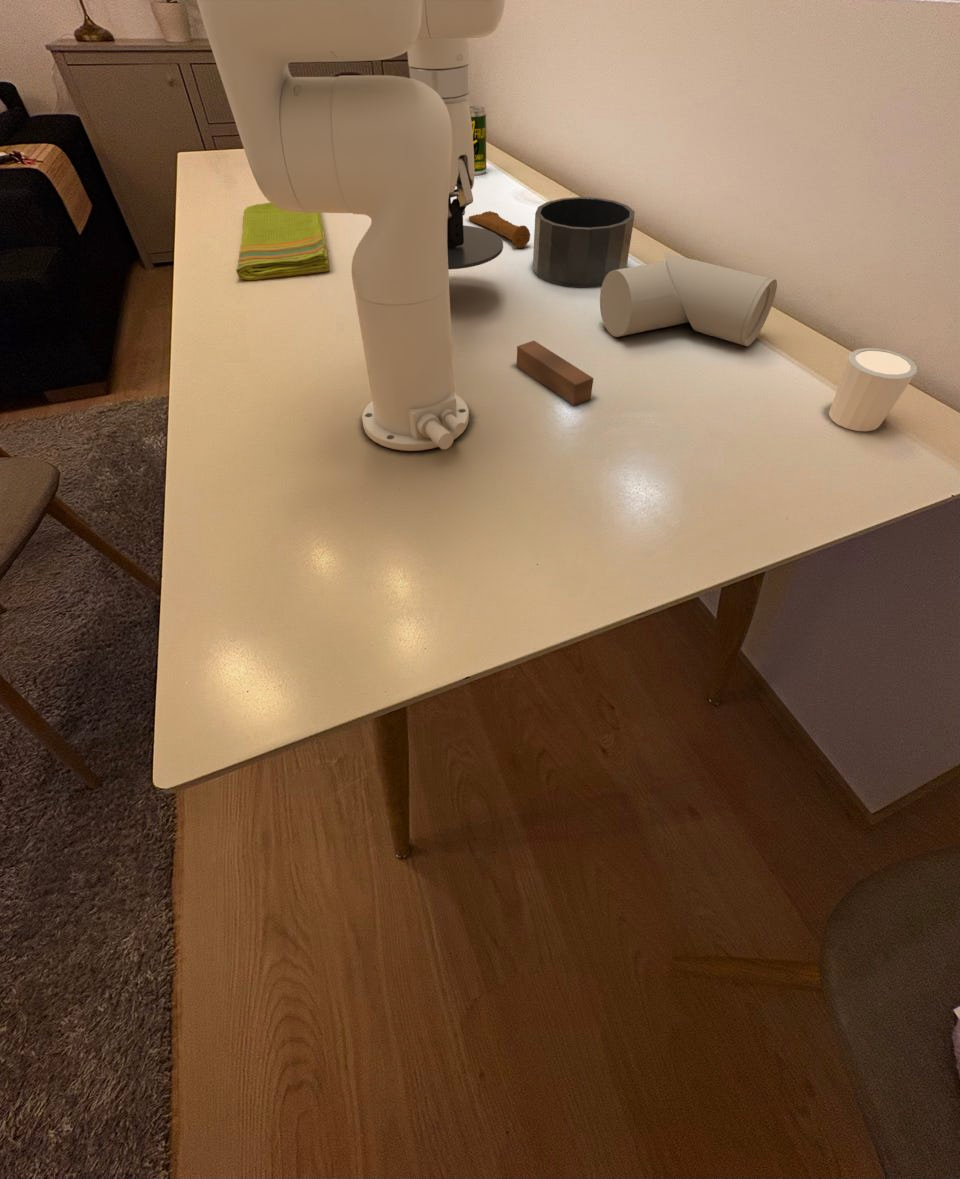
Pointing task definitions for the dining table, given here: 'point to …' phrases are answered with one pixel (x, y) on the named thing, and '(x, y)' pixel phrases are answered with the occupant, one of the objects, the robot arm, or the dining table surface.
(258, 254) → the dish towel
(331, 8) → the robot arm
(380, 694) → the dining table surface
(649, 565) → the dining table surface
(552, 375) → the stick
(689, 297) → the l-shaped cylinder
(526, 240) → the primitive tool
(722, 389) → the dining table surface
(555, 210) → the pot
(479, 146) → the green drink can
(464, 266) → the lid
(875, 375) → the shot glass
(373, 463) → the dining table surface
